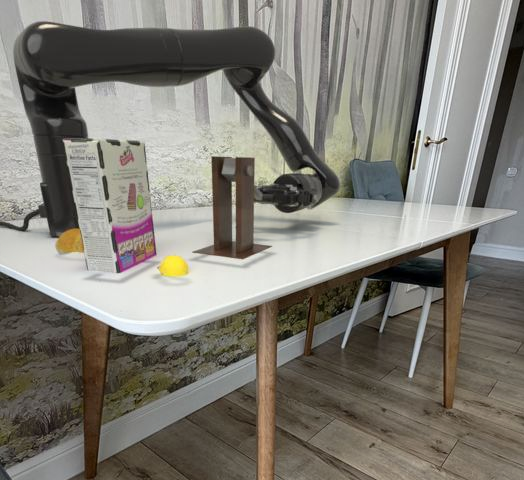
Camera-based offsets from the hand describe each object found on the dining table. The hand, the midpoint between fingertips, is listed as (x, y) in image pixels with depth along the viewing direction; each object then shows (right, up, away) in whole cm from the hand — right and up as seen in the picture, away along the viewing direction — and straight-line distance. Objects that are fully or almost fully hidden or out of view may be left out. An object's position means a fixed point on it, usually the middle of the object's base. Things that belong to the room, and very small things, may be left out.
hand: (262, 198), depth 70 cm
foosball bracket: (-5, -12, -5) cm, 14 cm away
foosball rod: (-3, -1, -6) cm, 7 cm away
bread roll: (-28, -12, -7) cm, 31 cm away
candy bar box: (-20, -16, -15) cm, 29 cm away
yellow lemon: (-12, -18, -18) cm, 29 cm away
